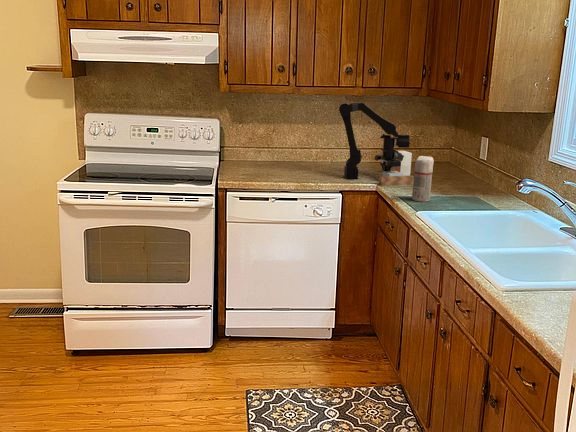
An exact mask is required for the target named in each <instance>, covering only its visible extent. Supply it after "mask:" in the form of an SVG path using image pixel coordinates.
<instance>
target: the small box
mask: <svg viewBox="0 0 576 432" xmlns="http://www.w3.org/2000/svg"><path fill="white" fill-rule="evenodd" d="M397 151H398V153H399V154H401V155H404V158H403V160H402V161H400V160H399V161H400V162H401V166H398V167H393V170H392V171H398V172H400V173H403V174H404V176H409V175H411V171H412V170H411V169H412V157H413V156H412V155H413V153H412V152H409V151H407V150H397ZM396 160H398V159H396Z"/></svg>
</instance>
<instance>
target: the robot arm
mask: <svg viewBox="0 0 576 432" xmlns="http://www.w3.org/2000/svg"><path fill="white" fill-rule="evenodd" d="M338 110H339V113H340V116H341V118H342V120H343V123H344V124H343V125H344V129H345V133H346V138H347V143H348V147H349V158H348V159H347V160H346V161H345V165H344V170H343V176H342V178H343V179H345V180H359V167H358V165H359V164H360V163H361V161H362V158H363V155H362V152H361V148H358V146H357V142H356V138H355V133H354V129H353V124H352V115H351V114H352V113H353V112H358V111H361V112H362V113H363V114H365V116H367V117H369V118H370V119H371V120H372V121H374V122H375V123H376V124H378V126H379V127H380V128H381V129H382V130H383V131H384V132H385V133H382V134H381V135H380V136H379V138H380V139H383V142H382V143H383V144H382V148H381V151H382V154H376V155H375V156H374V161H376V162H377V161H380V162H379V165H380V167H381V169H382V171H391V169H392V168H394V167H398V166H401V162H400V161H402V160H403V158H404V155H401V154H399V153H398V151H399V150H396V149H395V146H397V148H398V149H401V148H402V149H410V134H399V132H397V127H396V126H397V125H395V123H394V122H392V121H390V120H388V119H386V118H384V117H382V116H381V115H380V114H378V113H377V112H375V111H374V110H373V109H372V108H370V106H368V105H367V104H366V103H365V102H364V101H363V102H362V101H360V102H352V103H348V102H342V103H341V104H340V105H339V107H338ZM391 135H392V136H391ZM396 159H398V160H396ZM399 160H400V161H399Z"/></svg>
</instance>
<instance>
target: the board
mask: <svg viewBox="0 0 576 432" xmlns="http://www.w3.org/2000/svg"><path fill="white" fill-rule="evenodd" d="M413 182H414V175H411V174H410V175H409V176H383V177H382V176H378V185H379V186H382V187H383V186H404V185H405V186H406V185H408V186H409V185H413Z"/></svg>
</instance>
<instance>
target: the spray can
mask: <svg viewBox="0 0 576 432" xmlns="http://www.w3.org/2000/svg"><path fill="white" fill-rule="evenodd" d="M434 162H435V161H434V158H433V156H427V155H426V156H424V155H419V156H418V157H417V158H416V160H415V162H414V170H413V171H414V172H413V176H414V182H413V184H412V185H413V186H412V192H411V193H412V194H411V200H412V201H415V202H422V203H423V202H430V200H431V199H430V198H431V187H432V178H433V172H434V171H433V170H434V169H433V168H434V164H435V163H434Z"/></svg>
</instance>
